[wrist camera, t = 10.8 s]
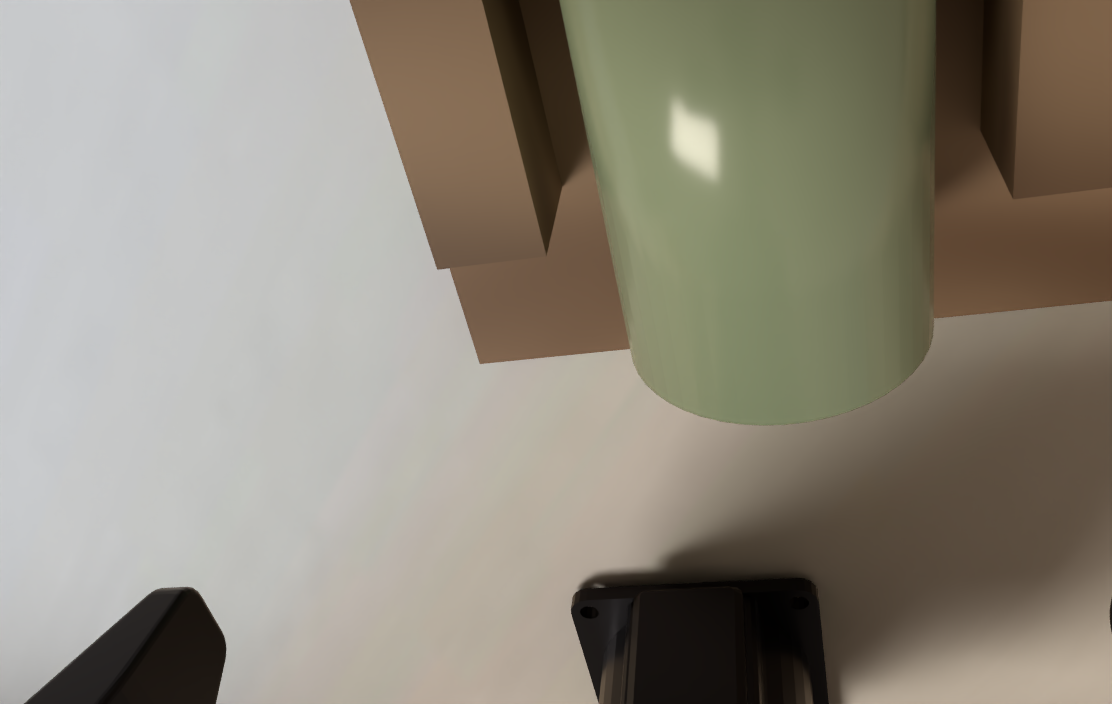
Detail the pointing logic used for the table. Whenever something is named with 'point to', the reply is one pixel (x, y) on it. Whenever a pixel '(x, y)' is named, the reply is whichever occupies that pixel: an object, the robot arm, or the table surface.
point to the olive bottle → (765, 195)
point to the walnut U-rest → (572, 196)
